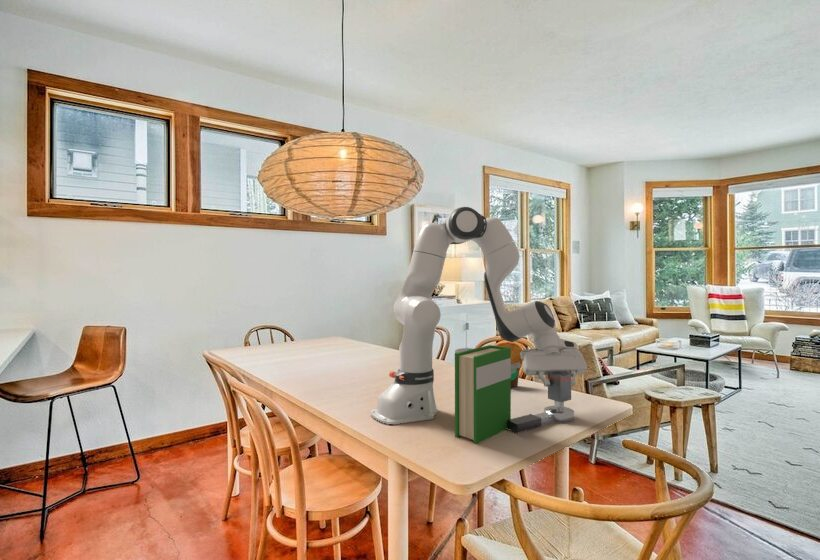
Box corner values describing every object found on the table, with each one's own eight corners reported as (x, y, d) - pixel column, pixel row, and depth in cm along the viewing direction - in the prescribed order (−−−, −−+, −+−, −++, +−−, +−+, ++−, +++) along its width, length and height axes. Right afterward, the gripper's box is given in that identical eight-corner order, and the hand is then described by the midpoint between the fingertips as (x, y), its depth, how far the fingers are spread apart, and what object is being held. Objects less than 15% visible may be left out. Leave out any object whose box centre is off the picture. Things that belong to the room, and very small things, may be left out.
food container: (488, 387, 175) (488, 362, 175) (490, 383, 181) (490, 359, 181) (519, 390, 171) (519, 364, 171) (521, 386, 177) (521, 361, 176)
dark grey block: (560, 402, 136) (560, 377, 136) (547, 398, 140) (547, 373, 140) (571, 399, 139) (571, 374, 138) (558, 395, 143) (558, 371, 143)
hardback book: (476, 444, 119) (476, 357, 119) (455, 437, 125) (454, 353, 124) (510, 427, 132) (510, 348, 131) (489, 421, 137) (489, 345, 137)
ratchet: (523, 435, 125) (523, 415, 125) (501, 426, 133) (501, 406, 133) (580, 419, 138) (580, 400, 138) (557, 411, 146) (557, 393, 146)
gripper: (520, 344, 145) (530, 381, 136) (581, 342, 146) (594, 379, 137) (516, 354, 150) (525, 391, 141) (575, 353, 151) (588, 389, 141)
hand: (560, 385), depth 139 cm, fingers closed on dark grey block, 7 cm apart
